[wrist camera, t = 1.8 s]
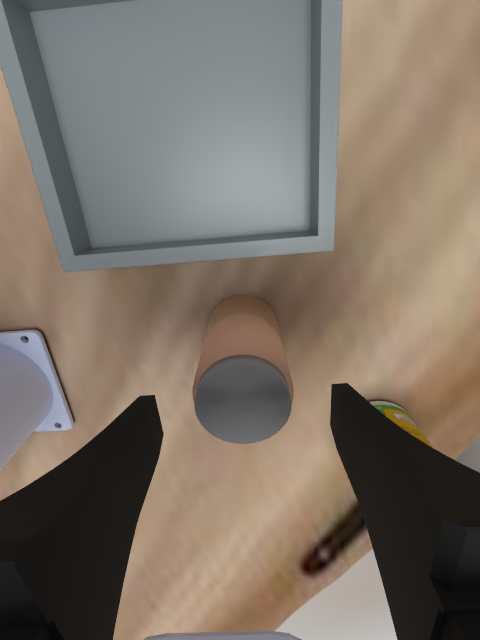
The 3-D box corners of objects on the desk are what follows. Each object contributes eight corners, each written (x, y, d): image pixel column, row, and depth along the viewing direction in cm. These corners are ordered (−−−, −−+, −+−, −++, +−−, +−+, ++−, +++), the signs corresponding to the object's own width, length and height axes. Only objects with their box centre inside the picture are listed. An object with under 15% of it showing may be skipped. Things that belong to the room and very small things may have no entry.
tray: (85, 261, 19) (64, 272, 16) (13, -4, 14) (-32, -41, 12) (322, 242, 18) (334, 250, 16) (328, -41, 14) (345, -87, 11)
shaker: (213, 358, 21) (197, 450, 14) (204, 297, 20) (182, 363, 12) (278, 354, 21) (297, 444, 14) (275, 291, 19) (295, 356, 12)
